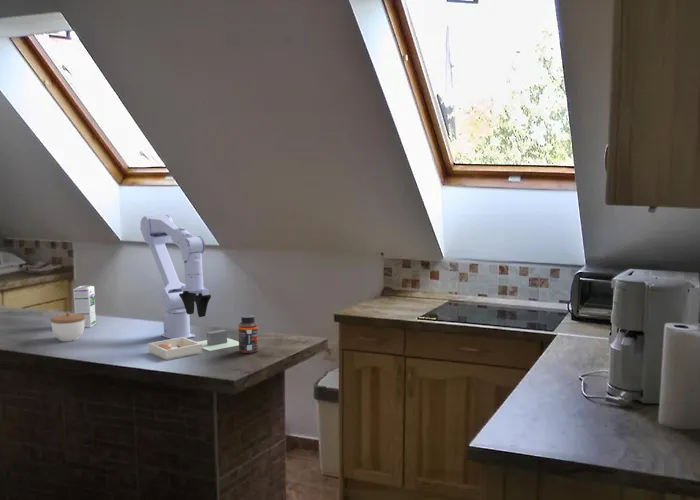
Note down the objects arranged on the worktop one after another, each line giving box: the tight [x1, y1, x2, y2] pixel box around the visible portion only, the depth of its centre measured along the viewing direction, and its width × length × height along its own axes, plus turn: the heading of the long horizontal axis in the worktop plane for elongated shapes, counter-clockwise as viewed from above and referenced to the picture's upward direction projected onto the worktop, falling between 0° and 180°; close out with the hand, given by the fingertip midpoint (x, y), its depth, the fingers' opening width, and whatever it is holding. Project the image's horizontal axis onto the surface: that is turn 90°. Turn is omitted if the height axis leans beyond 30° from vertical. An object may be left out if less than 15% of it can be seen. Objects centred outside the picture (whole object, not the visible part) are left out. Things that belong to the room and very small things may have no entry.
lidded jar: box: [50, 311, 85, 342], centre depth 243 cm, size 11×11×9 cm
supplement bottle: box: [238, 314, 259, 354], centre depth 225 cm, size 6×6×11 cm
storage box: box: [147, 337, 203, 361], centre depth 224 cm, size 12×12×3 cm
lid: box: [197, 329, 239, 352], centre depth 235 cm, size 13×13×5 cm
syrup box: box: [72, 285, 98, 329], centre depth 262 cm, size 6×6×14 cm
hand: (196, 315), depth 235 cm, fingers open, 7 cm apart
